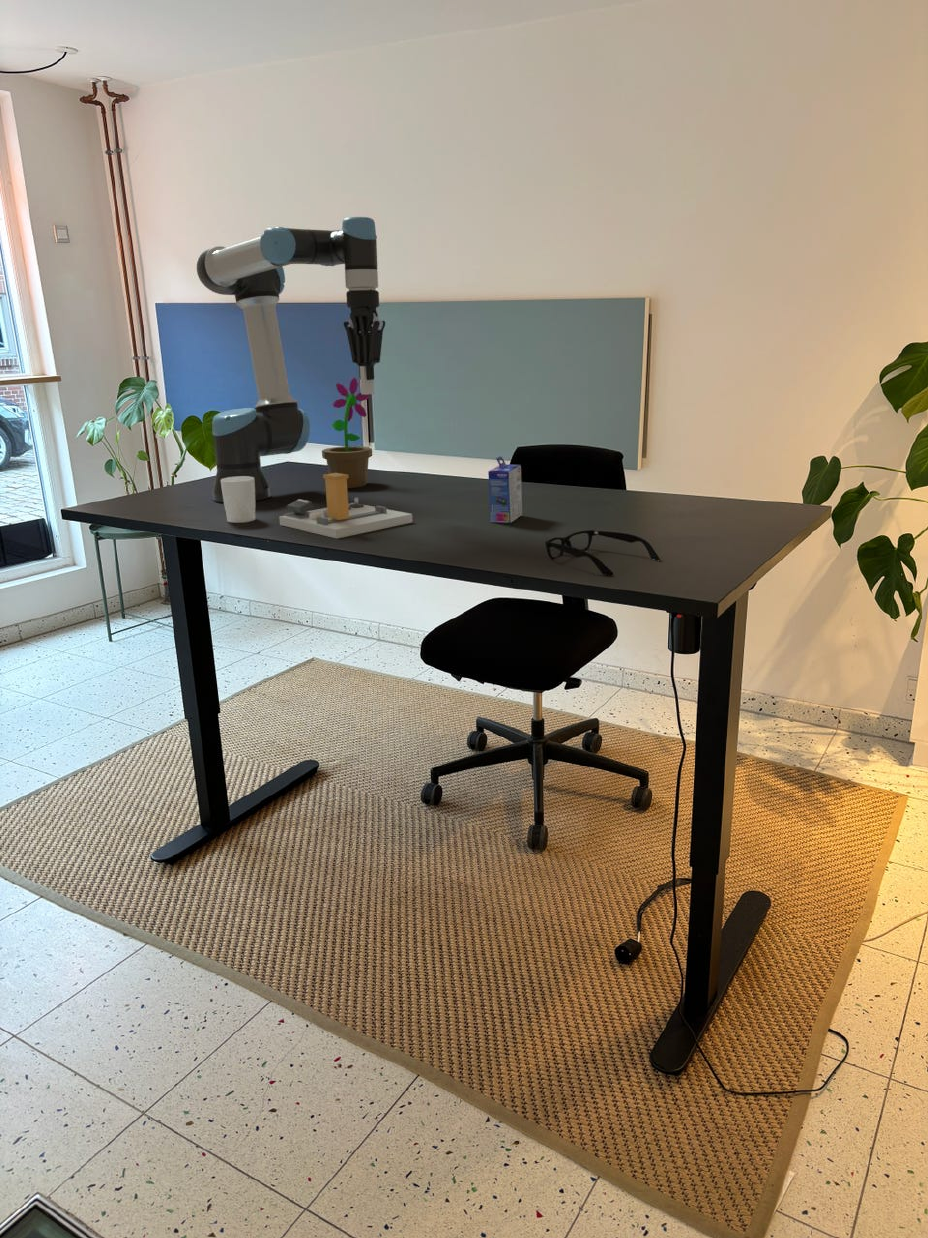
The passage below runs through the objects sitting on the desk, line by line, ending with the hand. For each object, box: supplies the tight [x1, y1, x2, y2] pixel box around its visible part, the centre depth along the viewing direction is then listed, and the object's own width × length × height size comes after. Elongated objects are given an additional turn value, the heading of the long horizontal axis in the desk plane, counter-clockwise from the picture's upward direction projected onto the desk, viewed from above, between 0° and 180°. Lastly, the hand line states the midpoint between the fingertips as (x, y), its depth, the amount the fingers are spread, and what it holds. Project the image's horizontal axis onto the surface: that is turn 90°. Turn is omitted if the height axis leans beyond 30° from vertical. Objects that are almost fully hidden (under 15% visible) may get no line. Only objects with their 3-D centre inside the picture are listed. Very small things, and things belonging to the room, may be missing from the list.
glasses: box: [545, 529, 661, 576], centre depth 177 cm, size 17×18×5 cm
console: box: [279, 497, 413, 539], centre depth 214 cm, size 22×22×4 cm
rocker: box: [286, 498, 314, 513], centre depth 214 cm, size 5×4×2 cm
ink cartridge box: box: [487, 456, 523, 524], centre depth 214 cm, size 10×6×14 cm, turn 161°
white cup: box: [221, 476, 256, 524], centre depth 220 cm, size 8×8×10 cm
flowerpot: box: [321, 377, 373, 489], centre depth 262 cm, size 14×14×30 cm
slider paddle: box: [322, 473, 349, 520], centre depth 206 cm, size 5×4×10 cm
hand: (367, 393), depth 220 cm, fingers closed
